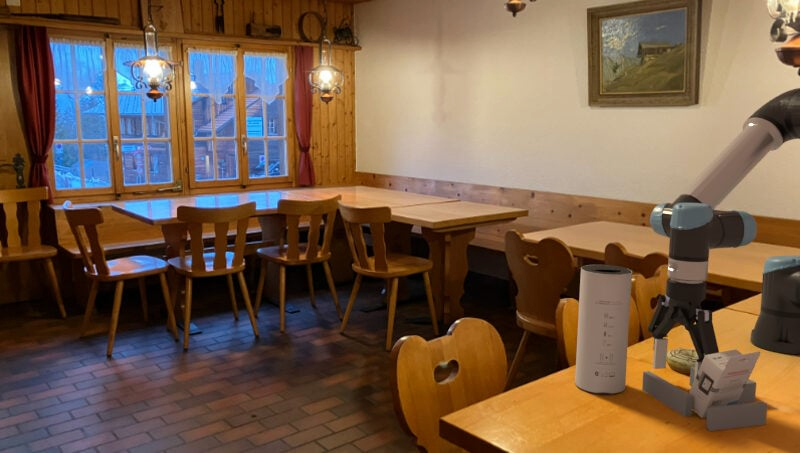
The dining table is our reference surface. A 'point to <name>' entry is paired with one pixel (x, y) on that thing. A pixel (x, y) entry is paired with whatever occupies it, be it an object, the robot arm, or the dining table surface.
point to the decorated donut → (682, 359)
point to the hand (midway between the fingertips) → (678, 379)
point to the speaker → (603, 329)
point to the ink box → (721, 379)
